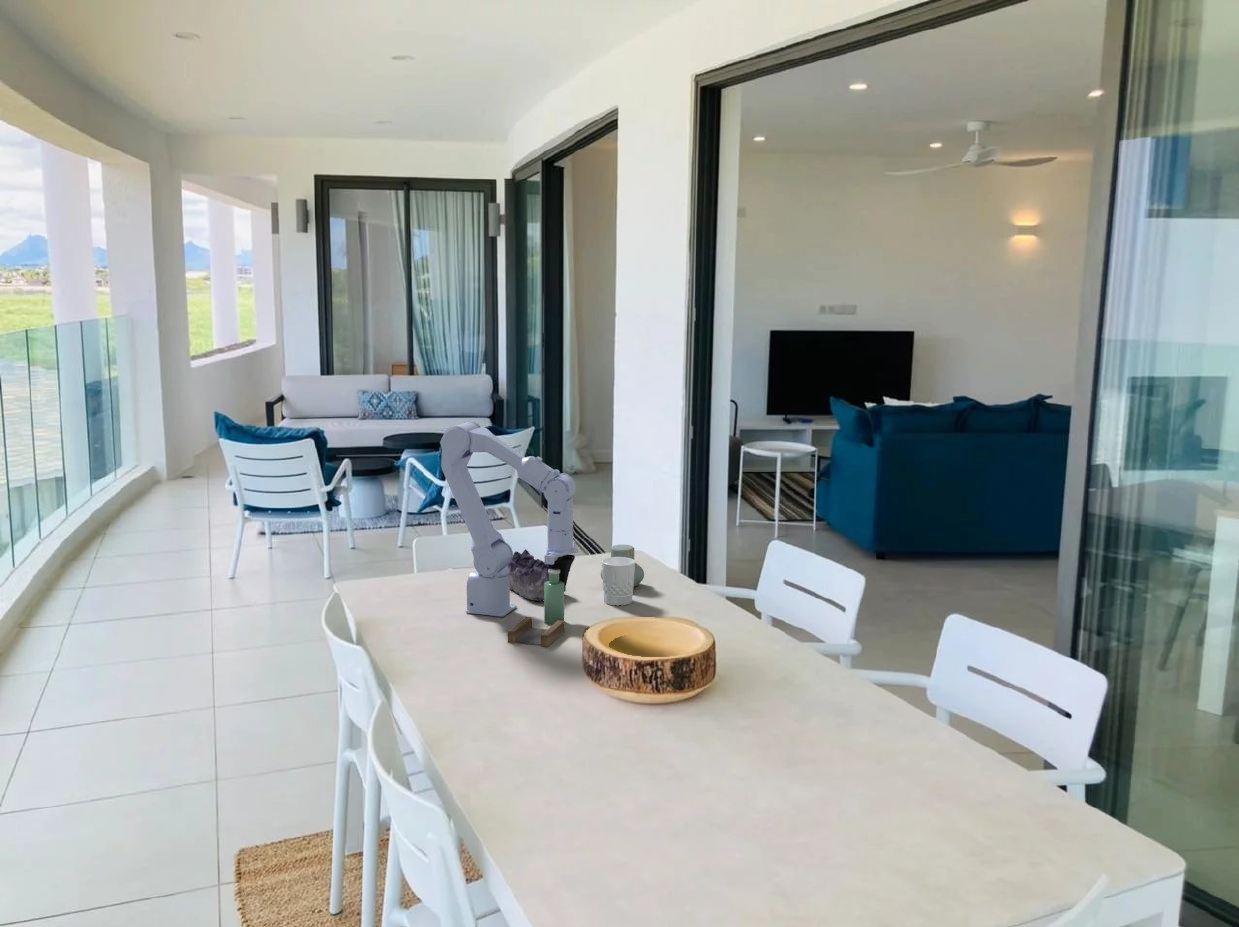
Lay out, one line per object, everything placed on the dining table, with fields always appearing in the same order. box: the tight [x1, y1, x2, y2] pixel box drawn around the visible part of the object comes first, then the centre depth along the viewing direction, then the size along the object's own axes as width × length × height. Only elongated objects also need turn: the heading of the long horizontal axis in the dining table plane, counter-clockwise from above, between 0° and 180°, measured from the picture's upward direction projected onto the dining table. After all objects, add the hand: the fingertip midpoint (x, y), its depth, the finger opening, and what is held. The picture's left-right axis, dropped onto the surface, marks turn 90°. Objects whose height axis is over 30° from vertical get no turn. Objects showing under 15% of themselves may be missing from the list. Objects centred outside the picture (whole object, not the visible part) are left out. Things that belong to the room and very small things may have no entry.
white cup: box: [601, 556, 636, 607], centre depth 240 cm, size 8×8×10 cm
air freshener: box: [600, 544, 645, 587], centre depth 254 cm, size 11×8×10 cm
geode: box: [508, 548, 567, 603], centre depth 248 cm, size 20×12×10 cm, turn 38°
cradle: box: [507, 616, 565, 648], centre depth 216 cm, size 9×10×2 cm
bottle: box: [543, 569, 565, 626], centre depth 225 cm, size 4×4×12 cm
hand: (560, 587), depth 229 cm, fingers closed
